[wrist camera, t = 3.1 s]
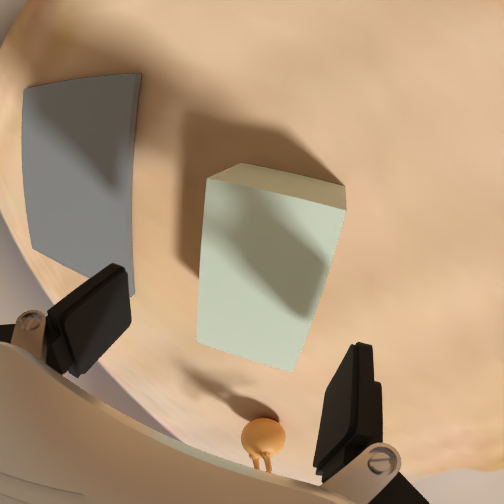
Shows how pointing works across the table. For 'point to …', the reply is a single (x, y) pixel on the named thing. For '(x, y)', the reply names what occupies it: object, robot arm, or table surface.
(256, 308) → the card box
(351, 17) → the table surface
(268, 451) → the figurine
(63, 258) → the mat
